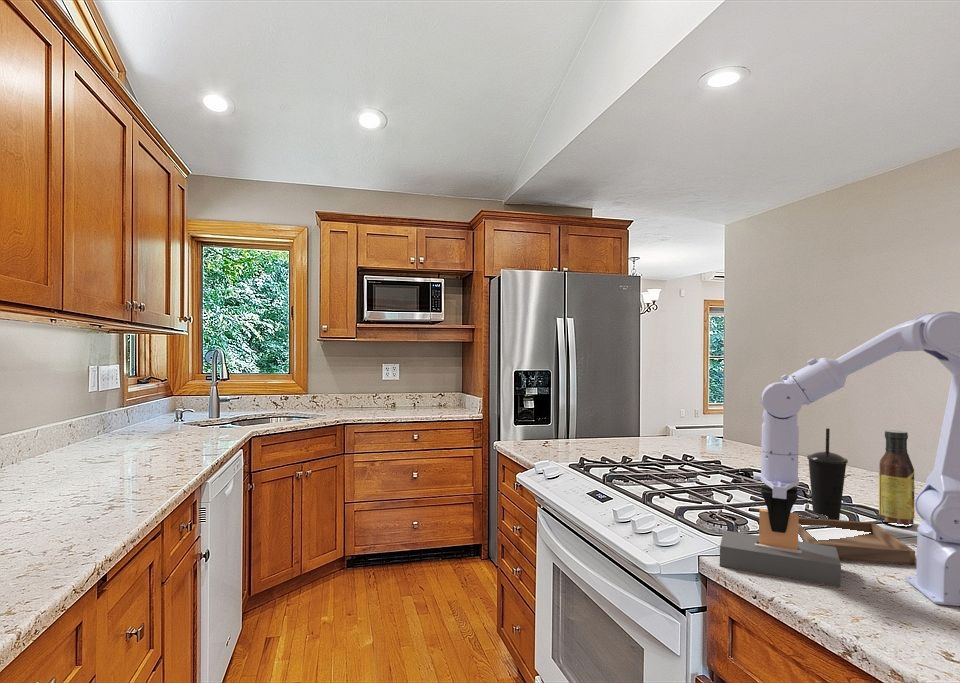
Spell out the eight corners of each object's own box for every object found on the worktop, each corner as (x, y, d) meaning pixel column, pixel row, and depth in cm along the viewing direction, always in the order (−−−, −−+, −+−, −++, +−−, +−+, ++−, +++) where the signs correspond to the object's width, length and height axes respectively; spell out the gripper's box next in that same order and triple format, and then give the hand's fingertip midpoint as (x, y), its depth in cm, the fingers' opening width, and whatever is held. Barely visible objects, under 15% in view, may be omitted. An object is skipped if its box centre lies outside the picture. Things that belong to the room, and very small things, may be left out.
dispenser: (835, 567, 102) (835, 545, 102) (840, 586, 94) (841, 563, 94) (723, 548, 110) (723, 528, 110) (719, 565, 102) (720, 544, 102)
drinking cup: (798, 517, 130) (799, 427, 129) (820, 513, 133) (822, 425, 132) (831, 527, 123) (833, 432, 122) (854, 523, 126) (856, 430, 125)
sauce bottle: (920, 529, 122) (922, 434, 122) (886, 527, 123) (888, 433, 123) (904, 519, 128) (906, 429, 128) (872, 517, 130) (874, 428, 129)
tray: (914, 565, 103) (915, 551, 103) (815, 557, 106) (815, 543, 106) (873, 534, 119) (873, 522, 119) (787, 528, 122) (787, 516, 122)
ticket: (797, 559, 101) (798, 513, 101) (797, 562, 100) (798, 515, 100) (758, 553, 104) (759, 508, 104) (758, 556, 102) (759, 510, 102)
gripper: (755, 442, 110) (754, 514, 110) (752, 457, 97) (751, 539, 97) (798, 446, 107) (796, 520, 107) (801, 461, 94) (800, 546, 94)
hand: (778, 529), depth 102 cm, fingers closed on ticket, 1 cm apart
